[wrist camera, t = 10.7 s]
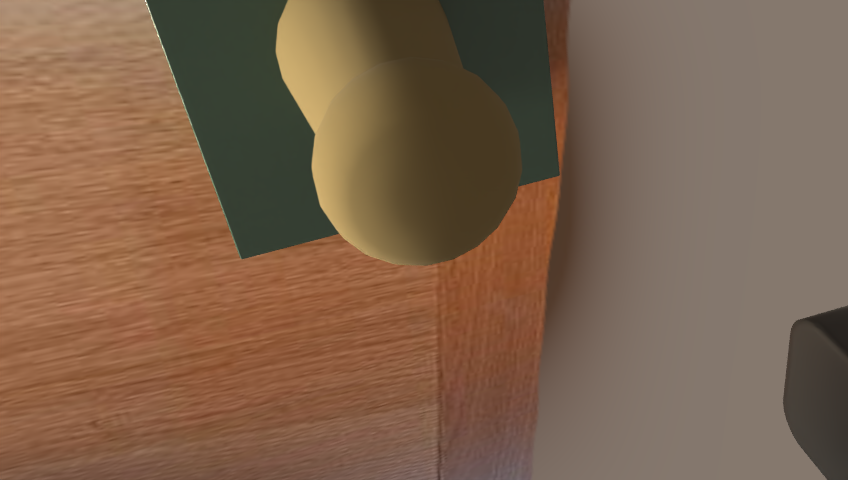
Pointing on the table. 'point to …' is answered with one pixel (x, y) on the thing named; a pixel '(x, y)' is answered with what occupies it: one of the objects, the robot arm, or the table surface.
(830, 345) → the robot arm
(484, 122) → the tan game pawn
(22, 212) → the table surface
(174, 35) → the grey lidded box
